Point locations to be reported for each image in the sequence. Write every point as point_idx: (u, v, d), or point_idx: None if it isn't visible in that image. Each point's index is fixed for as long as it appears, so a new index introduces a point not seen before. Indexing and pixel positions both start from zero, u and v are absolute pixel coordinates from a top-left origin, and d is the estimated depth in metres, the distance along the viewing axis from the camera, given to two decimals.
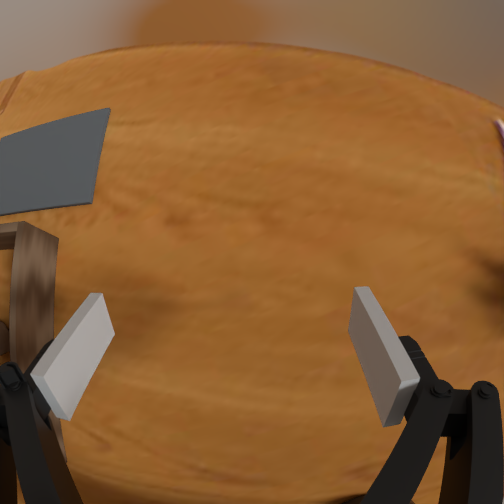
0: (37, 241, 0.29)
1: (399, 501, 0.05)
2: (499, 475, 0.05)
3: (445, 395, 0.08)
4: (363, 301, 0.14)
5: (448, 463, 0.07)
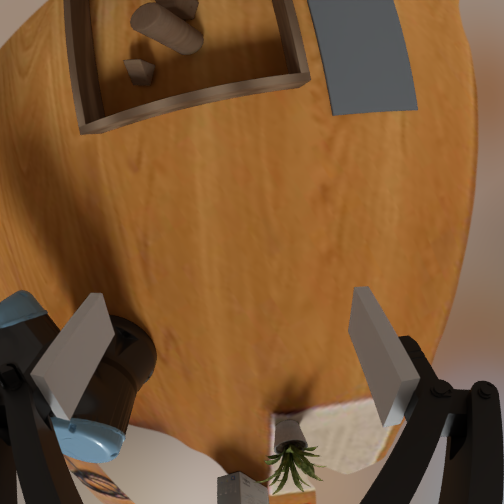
0: (294, 84, 0.35)
1: (399, 501, 0.05)
2: (499, 475, 0.05)
3: (445, 395, 0.08)
4: (363, 301, 0.14)
5: (448, 463, 0.07)
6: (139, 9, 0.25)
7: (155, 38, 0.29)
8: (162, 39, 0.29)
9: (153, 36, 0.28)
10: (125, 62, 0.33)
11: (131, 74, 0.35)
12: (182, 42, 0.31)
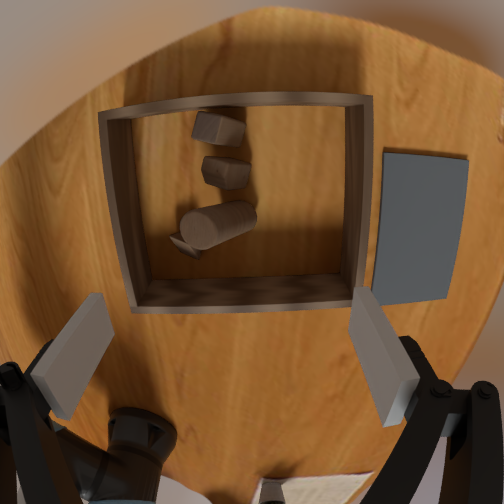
0: None
1: (399, 501, 0.05)
2: (499, 475, 0.05)
3: (445, 395, 0.08)
4: (363, 301, 0.14)
5: (448, 463, 0.07)
6: (189, 216, 0.30)
7: None
8: None
9: None
10: (172, 238, 0.38)
11: (178, 246, 0.40)
12: (236, 235, 0.36)
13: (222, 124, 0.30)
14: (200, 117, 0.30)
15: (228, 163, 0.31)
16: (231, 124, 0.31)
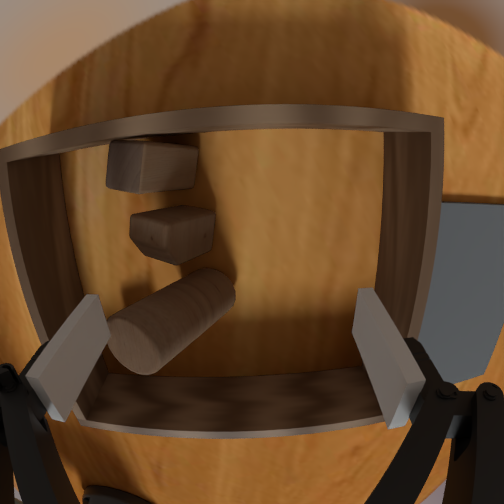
0: None
1: (403, 503, 0.05)
2: (503, 477, 0.05)
3: (450, 397, 0.08)
4: (368, 302, 0.14)
5: (452, 465, 0.07)
6: (113, 324, 0.16)
7: None
8: None
9: None
10: None
11: None
12: (205, 330, 0.22)
13: (148, 158, 0.17)
14: (113, 151, 0.17)
15: (167, 224, 0.18)
16: (167, 153, 0.18)
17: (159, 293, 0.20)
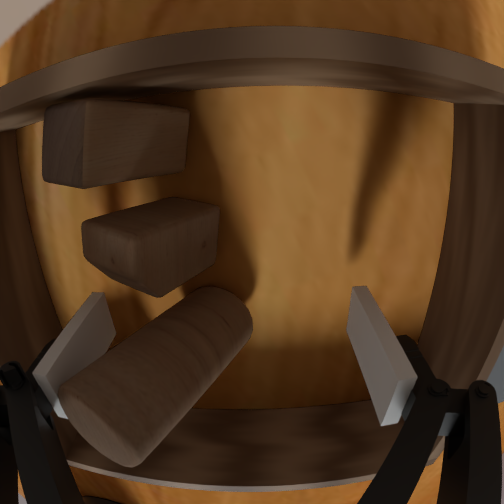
0: None
1: (397, 500, 0.05)
2: (497, 474, 0.05)
3: (442, 394, 0.08)
4: (361, 300, 0.14)
5: (446, 463, 0.07)
6: (66, 398, 0.09)
7: None
8: None
9: None
10: None
11: None
12: None
13: (95, 126, 0.09)
14: (48, 122, 0.09)
15: (133, 238, 0.10)
16: (132, 118, 0.10)
17: (135, 341, 0.12)
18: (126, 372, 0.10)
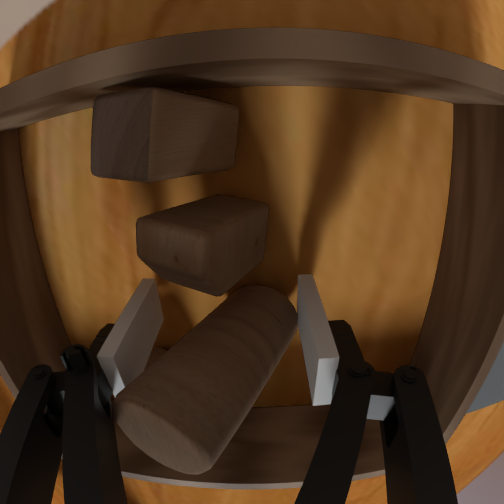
0: None
1: (340, 482, 0.06)
2: (444, 456, 0.06)
3: (365, 374, 0.10)
4: (303, 287, 0.15)
5: (386, 451, 0.09)
6: (125, 408, 0.09)
7: None
8: None
9: None
10: None
11: None
12: None
13: (162, 116, 0.09)
14: (100, 112, 0.09)
15: (203, 234, 0.10)
16: (193, 111, 0.10)
17: (194, 343, 0.12)
18: (192, 375, 0.10)
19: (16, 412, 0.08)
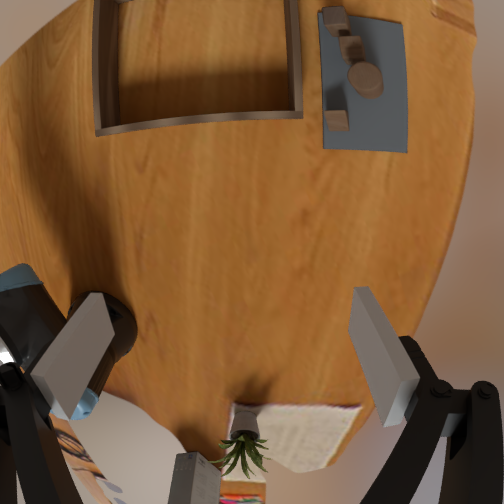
0: None
1: (399, 501, 0.05)
2: (499, 475, 0.05)
3: (445, 395, 0.08)
4: (363, 301, 0.14)
5: (448, 463, 0.07)
6: (354, 67, 0.32)
7: (367, 93, 0.35)
8: (372, 93, 0.35)
9: (369, 92, 0.34)
10: (326, 112, 0.40)
11: (330, 122, 0.42)
12: (380, 92, 0.37)
13: (344, 11, 0.31)
14: (326, 10, 0.32)
15: (359, 36, 0.32)
16: (346, 14, 0.32)
17: None
18: None
19: None
